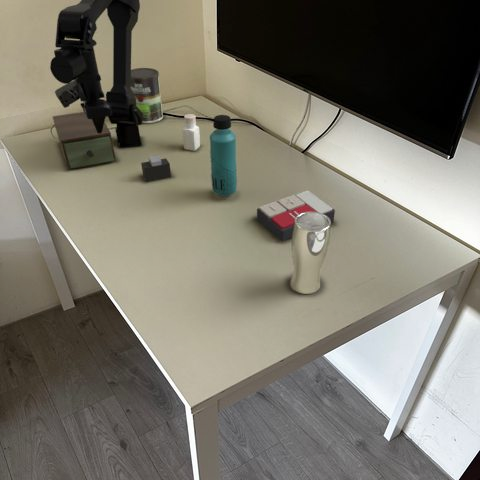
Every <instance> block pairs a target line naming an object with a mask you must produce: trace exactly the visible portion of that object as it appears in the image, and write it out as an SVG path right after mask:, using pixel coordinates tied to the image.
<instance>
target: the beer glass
mask: <svg viewBox="0 0 480 480" xmlns="http://www.w3.org/2000/svg"><path fill="white" fill-rule="evenodd" d="M331 225H332V224H331V221H330V219H329V218H328V217H327V216H326V215H324V214H322V213H319V212H304V213H301V214H299V215H297V216H296V218H295V222H294V227H293V233H292V238H291V255H292V264H293V265H292V266H293V269H292V270H293V271H292V274H291V278H290V282H289V285H290V288H291V289H292V290H293V291H295V292H297V293H299V294H302V295H309V294H314V293H317V291H319V289H320V287H321V270H322V266H323V264H324V262H325V259H326V256H327V253H328V249H329V245H330V238H331Z"/></svg>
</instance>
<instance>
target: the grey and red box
mask: <svg viewBox="0 0 480 480" xmlns="http://www.w3.org/2000/svg"><path fill="white" fill-rule="evenodd" d="M304 212H319V213H322V214H324V215H326V216H327V217H328V218H329V219H330V221H331V224H330V225H332V224H334V222H335V213H336V209H334V208H333V207H331V206H330V205H329V204H327V203H326V202H325V201H323V200H322V199H321V198H320V197H318V196H317V195H315V194H314V193H312V192H311V191H310V190H304V191H302V192H299V193H296V194H292V195H289V196H286V197H284V198H281V199H278V200H277V201H273V202H269V203H267V204H264V205H261V206H259V207H258V208H256V220H257V221H258V222H259V223H260V224H261V225H262V226H263V227H265V228H266V229H267V231H269V232H270V233H271V234H273V235H274V236H275V237H276V238H277V239H278V240H279V241H281V242H284V241H285V242H286V241H288V240H290V239H292V233H293V227H294V222H295V218H296V216H297V215H299V214H301V213H304Z"/></svg>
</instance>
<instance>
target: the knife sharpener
mask: <svg viewBox="0 0 480 480" xmlns="http://www.w3.org/2000/svg"><path fill="white" fill-rule="evenodd" d="M147 159H148V161H143V162H140V163H141V164H140V165H141V170H142V177H143V180H145V182H147V183H148V182H152V181H158V180H164V179H167V178H172V172H171V164H170V162H169V160H168V159H167V157H166V158H161V157H159V155H158V154H157V155H152V156H148V158H147Z"/></svg>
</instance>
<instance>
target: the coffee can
mask: <svg viewBox="0 0 480 480" xmlns="http://www.w3.org/2000/svg"><path fill="white" fill-rule="evenodd" d="M159 72H160V71H158V70H157V69H155V68H151V67H138V68H133V69H132V68H131V90H132V92H133V94H134V96H135V98H136V106H137V107H138V108H139V109H140V111H141V112H142V113H143V121H142V123H143V124H154V123H157V122H160V121H162V120H163V118H164V114H163V105H162V95H161V86H160V85H161V83H160V76H159V75H160V73H159Z"/></svg>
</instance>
